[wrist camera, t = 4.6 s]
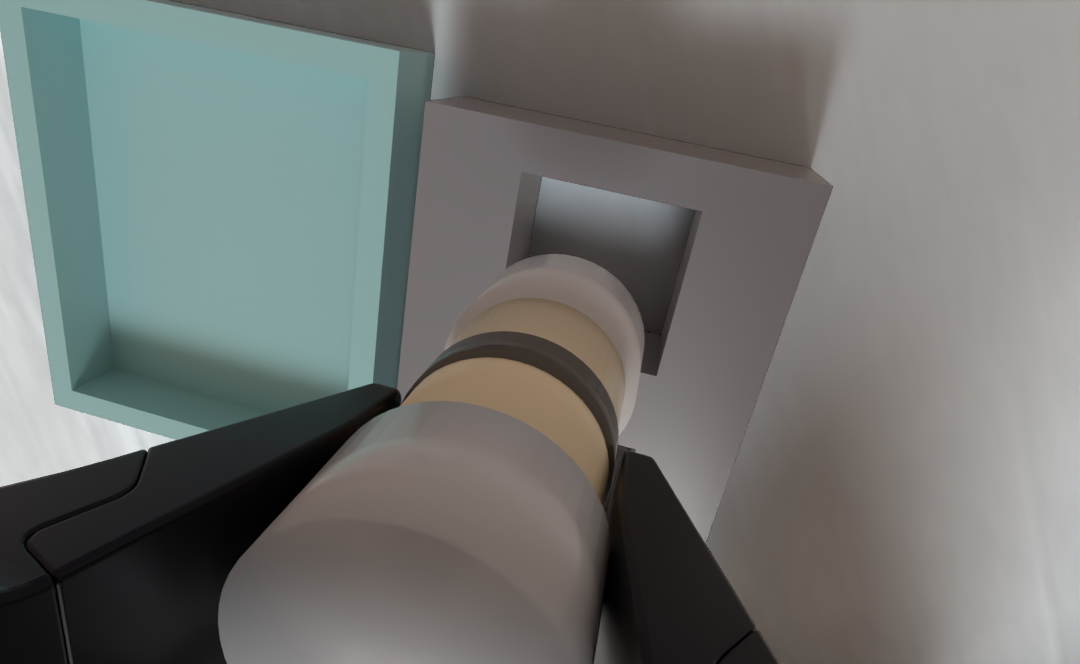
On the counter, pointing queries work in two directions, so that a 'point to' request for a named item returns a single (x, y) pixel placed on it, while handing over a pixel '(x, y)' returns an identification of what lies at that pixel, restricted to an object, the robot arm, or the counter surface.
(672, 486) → the block
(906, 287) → the counter surface
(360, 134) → the parts tray
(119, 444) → the counter surface
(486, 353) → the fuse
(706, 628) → the robot arm
